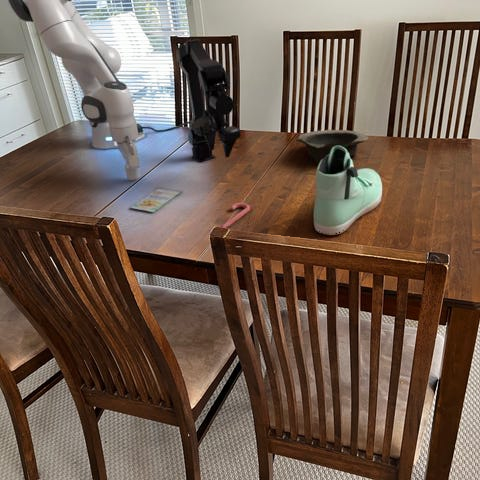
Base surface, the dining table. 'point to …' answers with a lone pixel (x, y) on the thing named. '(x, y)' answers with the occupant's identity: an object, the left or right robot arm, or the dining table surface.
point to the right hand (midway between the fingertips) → (219, 153)
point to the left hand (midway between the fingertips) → (132, 171)
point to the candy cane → (239, 215)
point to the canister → (128, 173)
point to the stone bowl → (331, 142)
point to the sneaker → (343, 192)
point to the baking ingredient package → (155, 200)
